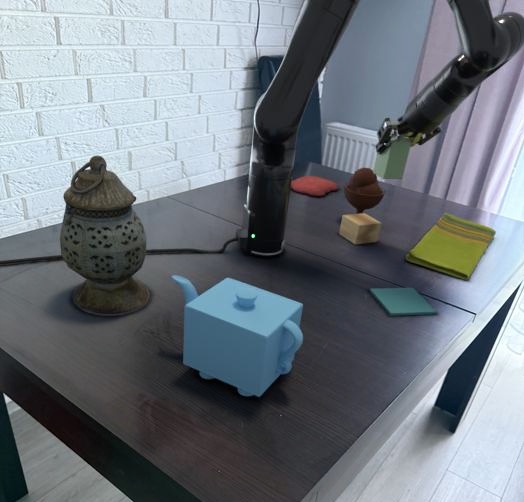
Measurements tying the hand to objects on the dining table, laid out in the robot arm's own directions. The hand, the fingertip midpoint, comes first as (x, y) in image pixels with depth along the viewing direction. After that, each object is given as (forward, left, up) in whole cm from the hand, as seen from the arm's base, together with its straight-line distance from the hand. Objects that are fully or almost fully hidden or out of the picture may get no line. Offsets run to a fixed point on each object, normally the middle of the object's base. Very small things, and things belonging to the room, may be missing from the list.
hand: (388, 150), depth 116 cm
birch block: (-2, +2, -22) cm, 22 cm away
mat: (-6, -31, -22) cm, 38 cm away
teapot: (-45, -49, -22) cm, 70 cm away
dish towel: (+22, -4, -22) cm, 32 cm away
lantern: (-63, -26, -22) cm, 71 cm away
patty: (-1, +42, -22) cm, 48 cm away
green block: (0, -2, -5) cm, 5 cm away
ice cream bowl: (+2, +12, -22) cm, 26 cm away
